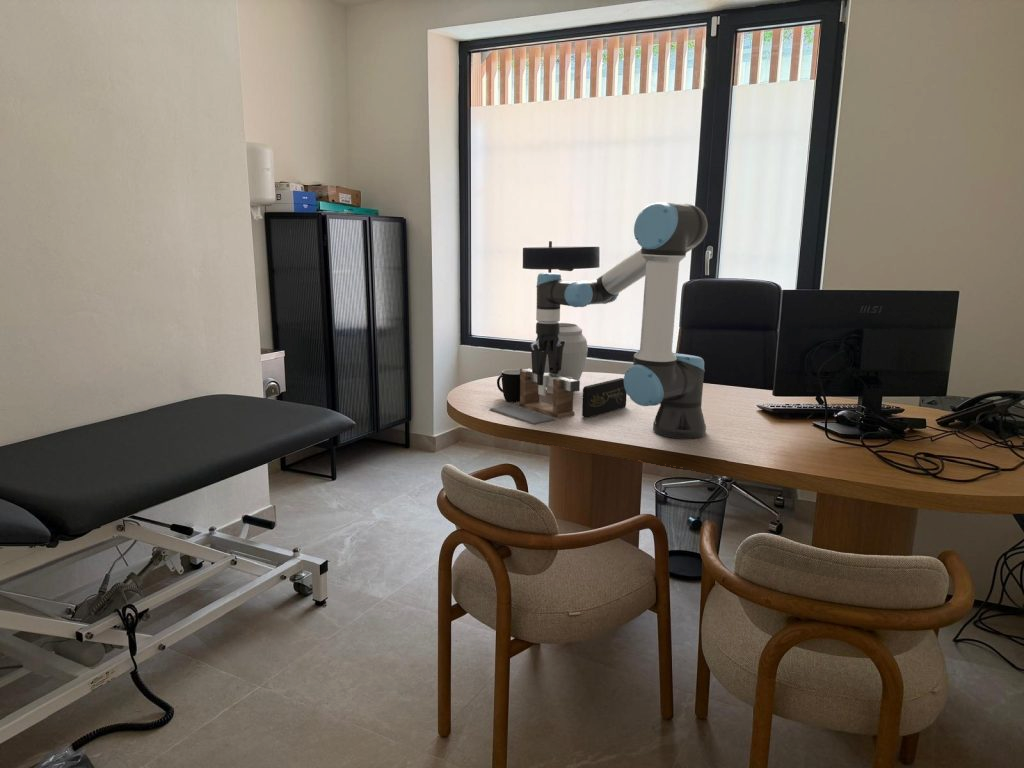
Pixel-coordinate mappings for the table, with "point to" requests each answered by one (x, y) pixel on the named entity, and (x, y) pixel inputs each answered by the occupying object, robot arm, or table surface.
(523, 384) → the rack
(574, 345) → the vase
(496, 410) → the mat
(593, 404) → the nameplate
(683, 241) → the robot arm
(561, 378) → the rail
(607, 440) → the table surface
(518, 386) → the mug
